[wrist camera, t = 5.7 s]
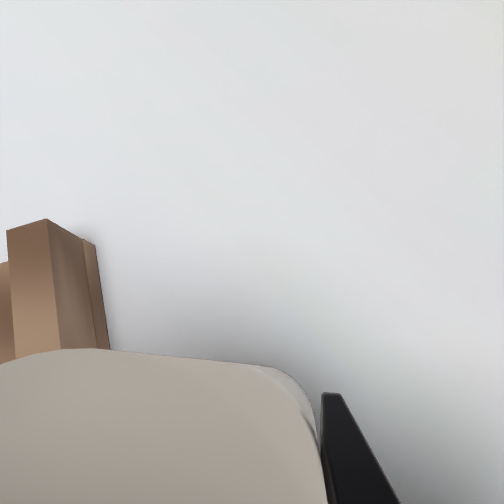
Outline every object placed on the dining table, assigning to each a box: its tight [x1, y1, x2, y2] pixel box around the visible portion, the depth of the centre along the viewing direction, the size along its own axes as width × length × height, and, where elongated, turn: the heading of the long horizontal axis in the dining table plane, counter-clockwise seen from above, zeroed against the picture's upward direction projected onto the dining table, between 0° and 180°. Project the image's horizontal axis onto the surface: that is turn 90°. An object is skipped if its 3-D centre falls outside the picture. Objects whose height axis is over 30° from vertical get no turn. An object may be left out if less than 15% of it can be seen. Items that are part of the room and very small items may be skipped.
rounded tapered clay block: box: [0, 348, 328, 504], centre depth 9 cm, size 4×4×13 cm
